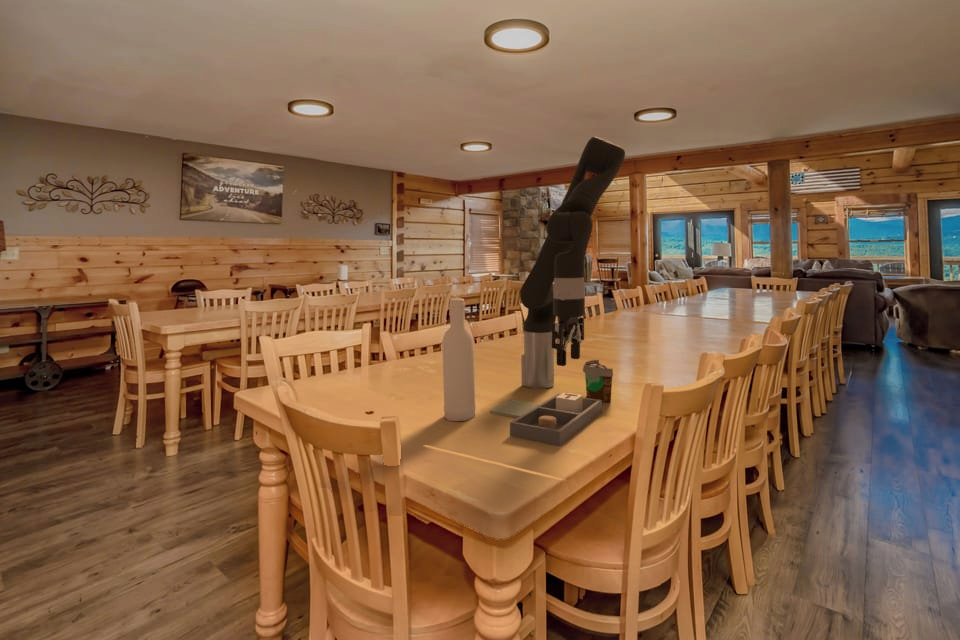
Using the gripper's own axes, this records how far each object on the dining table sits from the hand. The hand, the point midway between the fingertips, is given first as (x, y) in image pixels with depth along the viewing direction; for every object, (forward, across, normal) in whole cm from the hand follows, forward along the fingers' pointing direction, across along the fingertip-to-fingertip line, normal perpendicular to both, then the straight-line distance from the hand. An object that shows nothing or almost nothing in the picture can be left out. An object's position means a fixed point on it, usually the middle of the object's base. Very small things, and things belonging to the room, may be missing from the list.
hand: (568, 362), depth 120 cm
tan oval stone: (+14, +12, 0) cm, 19 cm away
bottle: (+14, +13, -24) cm, 31 cm away
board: (+14, +2, -13) cm, 19 cm away
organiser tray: (+14, +6, 0) cm, 15 cm away
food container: (+14, -18, 0) cm, 23 cm away
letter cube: (+14, 0, 0) cm, 14 cm away
